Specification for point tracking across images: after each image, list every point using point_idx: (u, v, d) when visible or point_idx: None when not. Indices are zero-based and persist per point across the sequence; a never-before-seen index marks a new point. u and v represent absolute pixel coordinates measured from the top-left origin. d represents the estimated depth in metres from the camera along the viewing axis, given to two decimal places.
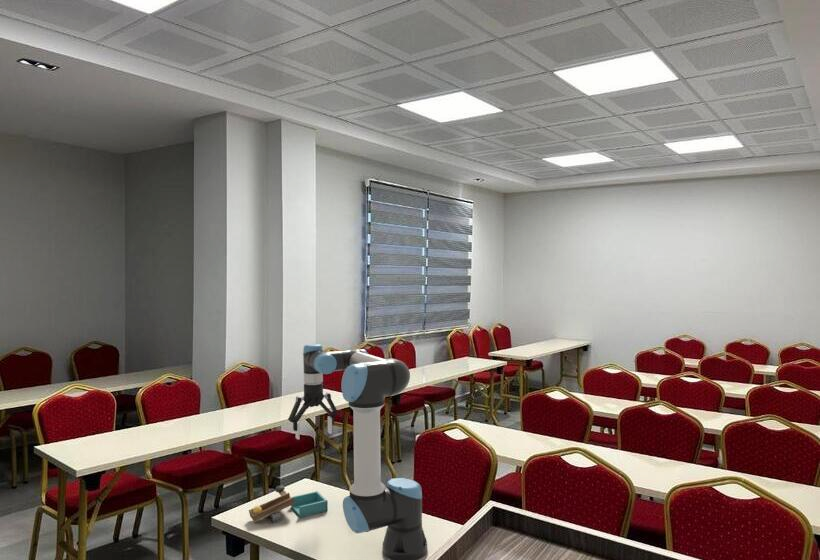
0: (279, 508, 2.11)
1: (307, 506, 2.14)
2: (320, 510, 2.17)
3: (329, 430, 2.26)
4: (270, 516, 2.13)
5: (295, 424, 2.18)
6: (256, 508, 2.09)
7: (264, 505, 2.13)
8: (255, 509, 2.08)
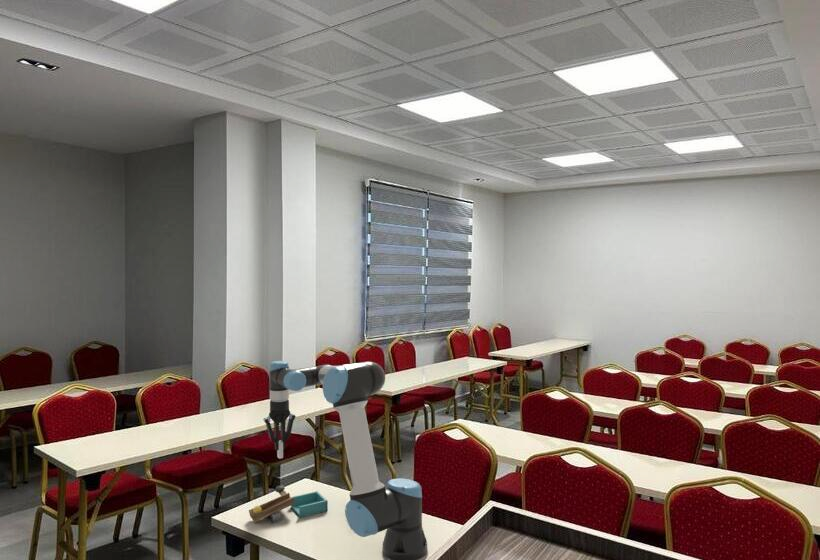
0: (279, 508, 2.11)
1: (307, 506, 2.14)
2: (320, 510, 2.17)
3: None
4: (270, 516, 2.13)
5: (277, 444, 2.25)
6: (256, 508, 2.09)
7: (264, 505, 2.13)
8: (255, 509, 2.08)
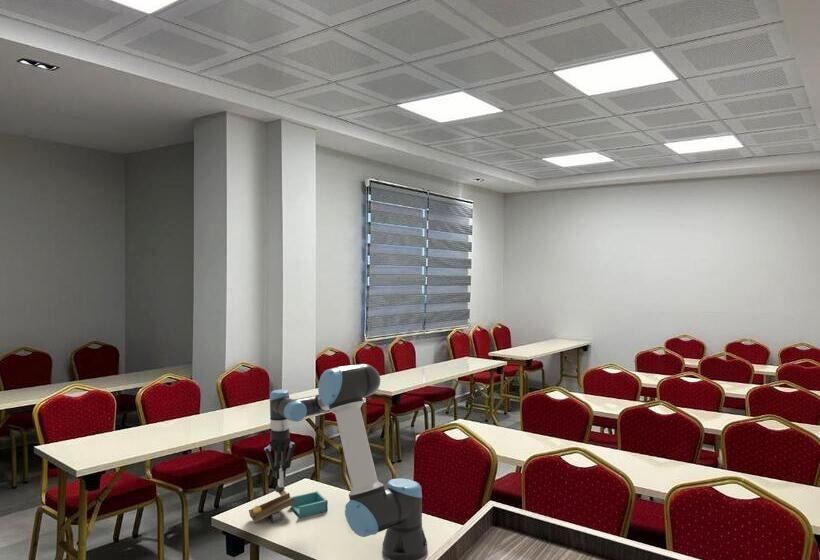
0: (279, 508, 2.11)
1: (307, 506, 2.14)
2: (320, 510, 2.17)
3: None
4: (270, 516, 2.13)
5: (277, 472, 2.25)
6: (256, 508, 2.09)
7: (264, 505, 2.13)
8: (255, 509, 2.08)
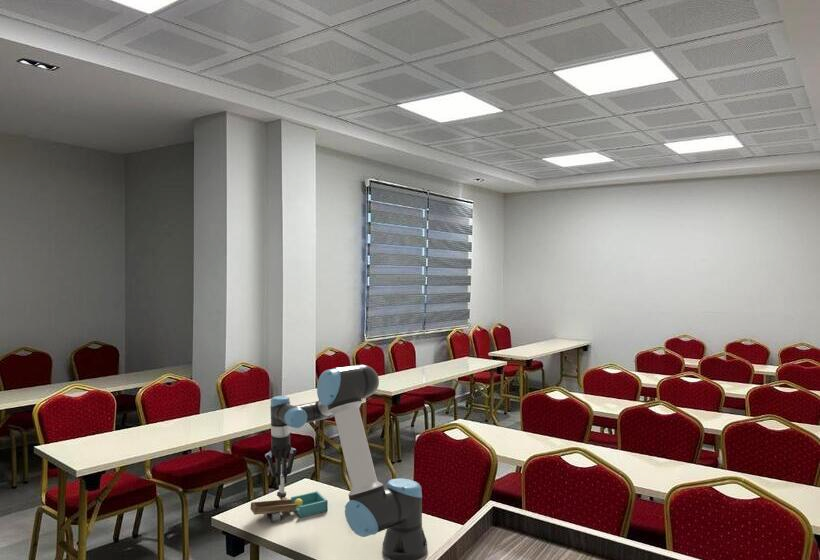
0: (280, 509, 2.11)
1: (307, 506, 2.14)
2: (320, 510, 2.17)
3: None
4: (270, 516, 2.13)
5: (278, 479, 2.25)
6: None
7: (266, 503, 2.14)
8: None
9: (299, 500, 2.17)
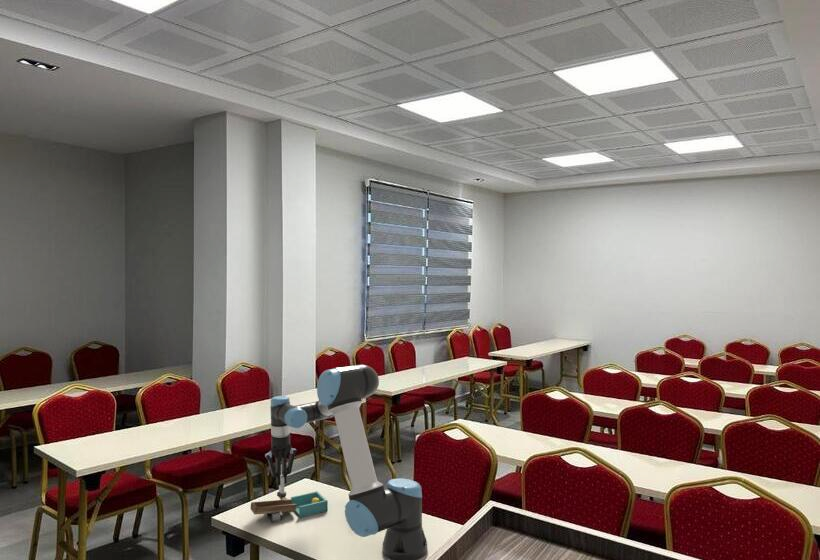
0: (280, 509, 2.11)
1: (307, 506, 2.14)
2: (320, 510, 2.17)
3: None
4: (270, 516, 2.13)
5: (278, 479, 2.25)
6: None
7: (266, 502, 2.14)
8: (319, 501, 2.21)
9: (313, 502, 2.20)
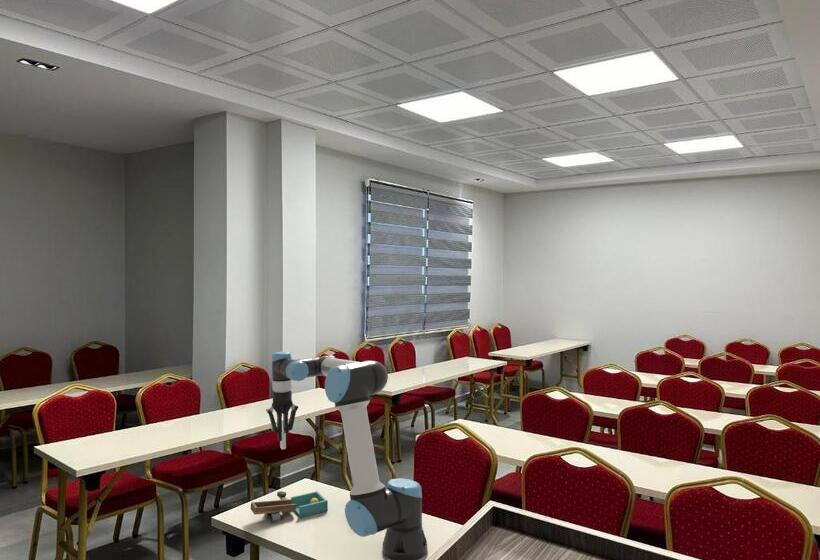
0: (280, 509, 2.11)
1: (307, 506, 2.14)
2: (320, 510, 2.17)
3: None
4: (270, 516, 2.13)
5: (279, 434, 2.24)
6: None
7: (266, 502, 2.14)
8: (317, 500, 2.21)
9: None
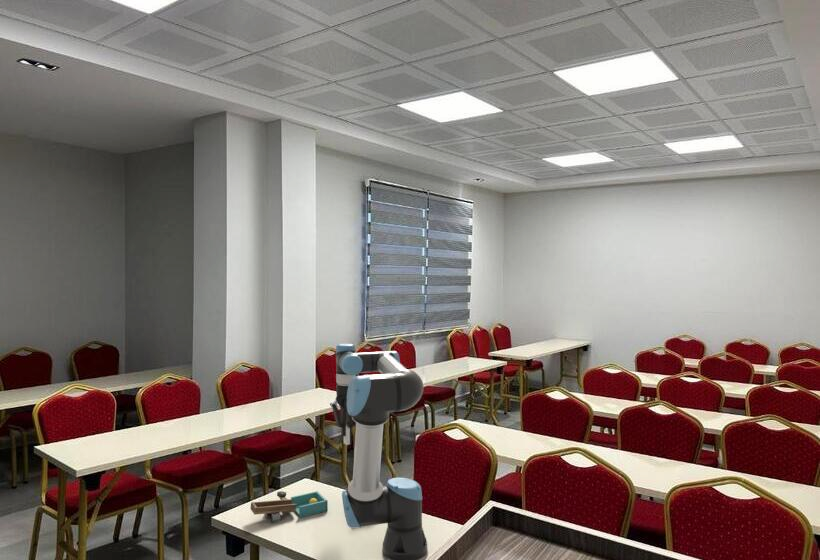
0: (280, 509, 2.11)
1: (307, 506, 2.14)
2: (320, 510, 2.17)
3: None
4: (270, 516, 2.13)
5: (344, 429, 2.16)
6: (316, 501, 2.21)
7: (266, 502, 2.14)
8: (316, 500, 2.21)
9: None
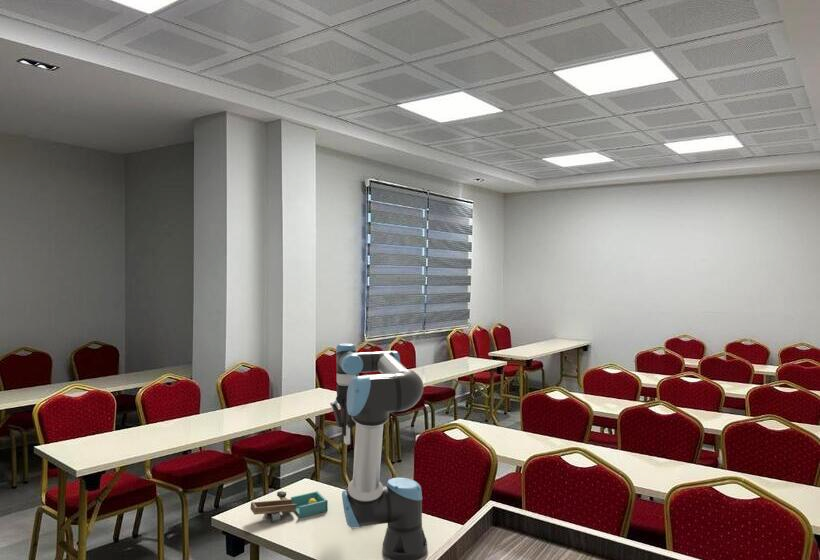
0: (280, 509, 2.11)
1: (307, 506, 2.14)
2: (320, 510, 2.17)
3: None
4: (270, 516, 2.13)
5: (344, 429, 2.17)
6: (315, 501, 2.21)
7: (266, 502, 2.14)
8: (314, 500, 2.20)
9: None
